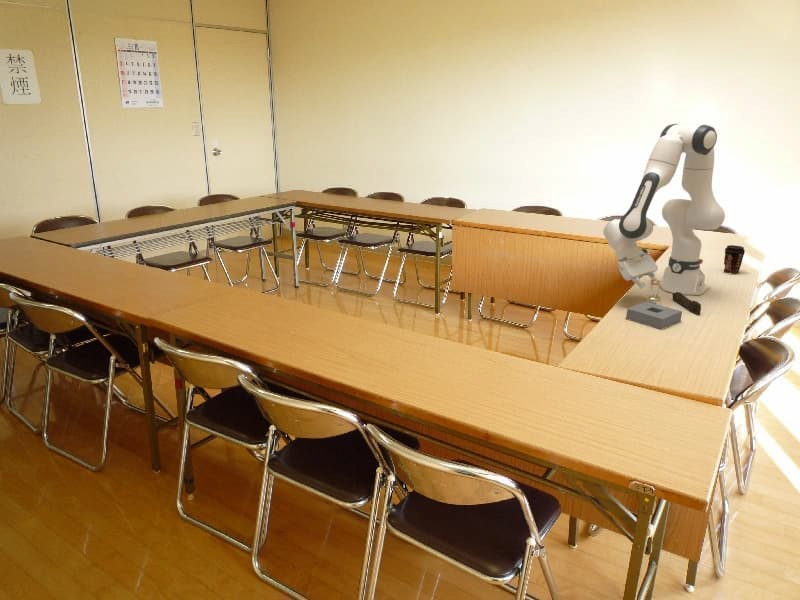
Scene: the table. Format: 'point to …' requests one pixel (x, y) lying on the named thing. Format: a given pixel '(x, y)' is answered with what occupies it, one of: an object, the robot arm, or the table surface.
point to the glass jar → (653, 292)
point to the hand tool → (687, 303)
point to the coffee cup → (733, 258)
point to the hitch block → (654, 315)
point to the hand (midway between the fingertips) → (649, 285)
